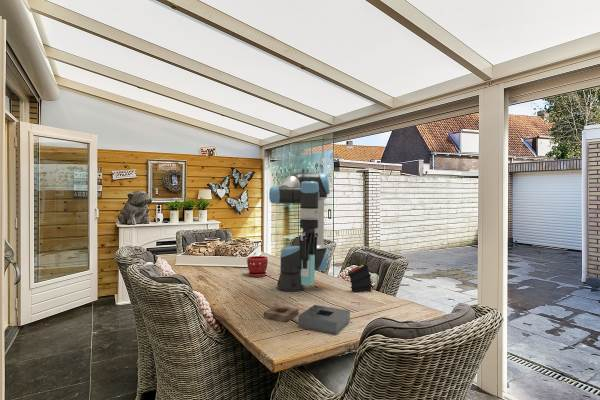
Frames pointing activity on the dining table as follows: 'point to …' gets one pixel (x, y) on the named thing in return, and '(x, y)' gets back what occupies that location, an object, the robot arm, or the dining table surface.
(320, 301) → the dining table surface
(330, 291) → the dining table surface
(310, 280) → the peg
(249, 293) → the dining table surface
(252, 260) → the plant pot
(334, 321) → the port
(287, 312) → the brown flat piece
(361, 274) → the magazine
